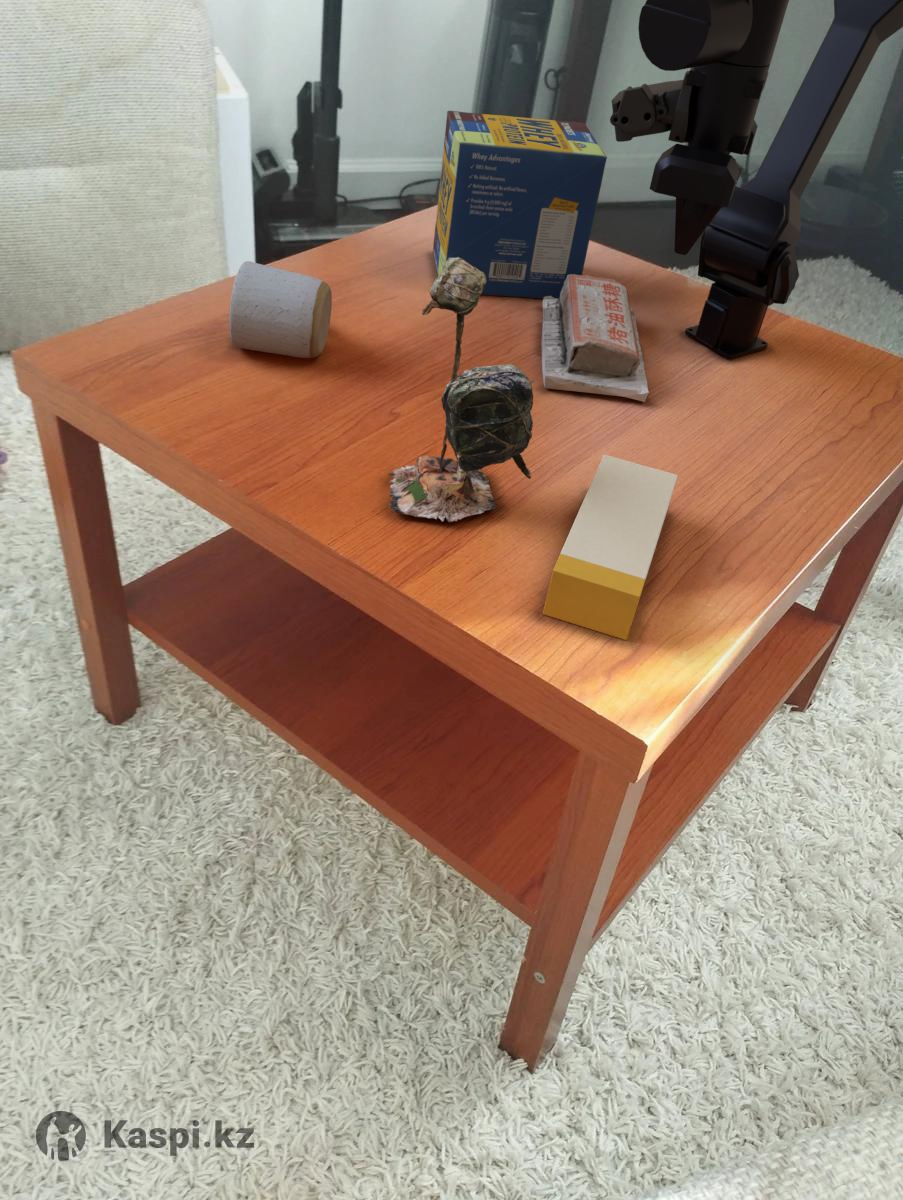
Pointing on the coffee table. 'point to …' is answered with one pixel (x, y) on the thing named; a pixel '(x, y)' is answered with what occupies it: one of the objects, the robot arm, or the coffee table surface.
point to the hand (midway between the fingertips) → (680, 252)
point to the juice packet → (610, 547)
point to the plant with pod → (467, 419)
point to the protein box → (517, 200)
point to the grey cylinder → (279, 311)
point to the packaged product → (592, 340)
